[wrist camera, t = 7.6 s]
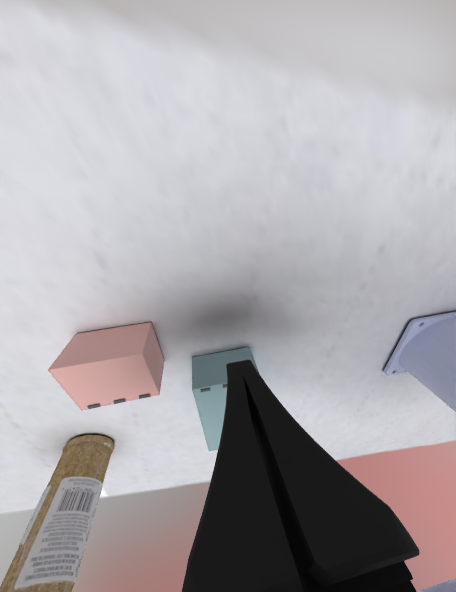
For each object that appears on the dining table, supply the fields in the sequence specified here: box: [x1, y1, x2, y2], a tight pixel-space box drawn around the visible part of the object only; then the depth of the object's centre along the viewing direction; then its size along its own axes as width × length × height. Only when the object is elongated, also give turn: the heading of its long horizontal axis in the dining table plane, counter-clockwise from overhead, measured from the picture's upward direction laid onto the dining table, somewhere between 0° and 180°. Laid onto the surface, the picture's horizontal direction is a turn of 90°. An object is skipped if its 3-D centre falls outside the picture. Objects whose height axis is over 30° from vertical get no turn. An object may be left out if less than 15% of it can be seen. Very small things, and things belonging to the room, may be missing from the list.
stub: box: [48, 322, 164, 410], centre depth 13 cm, size 5×4×3 cm
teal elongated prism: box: [192, 347, 259, 451], centre depth 18 cm, size 5×10×3 cm, turn 4°
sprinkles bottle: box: [0, 435, 114, 592], centre depth 14 cm, size 5×5×14 cm
